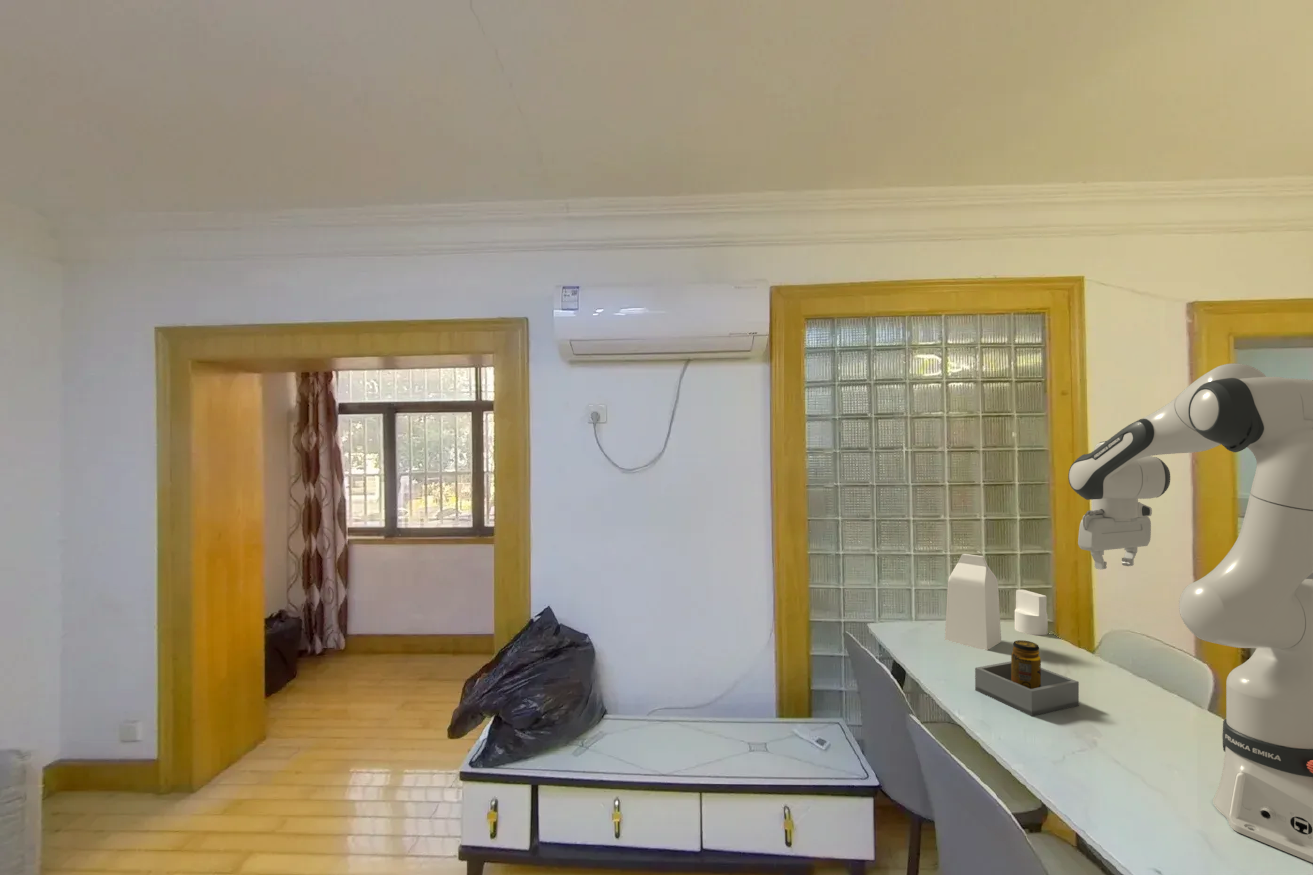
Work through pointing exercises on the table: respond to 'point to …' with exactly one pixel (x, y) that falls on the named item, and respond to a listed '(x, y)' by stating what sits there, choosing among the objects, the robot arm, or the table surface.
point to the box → (1027, 690)
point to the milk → (973, 604)
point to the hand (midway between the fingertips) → (1114, 567)
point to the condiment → (1026, 664)
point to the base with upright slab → (1031, 613)
